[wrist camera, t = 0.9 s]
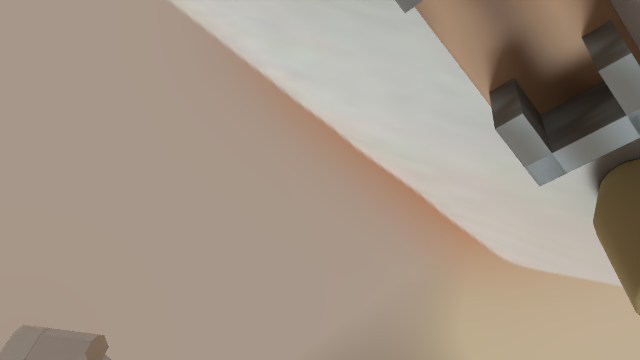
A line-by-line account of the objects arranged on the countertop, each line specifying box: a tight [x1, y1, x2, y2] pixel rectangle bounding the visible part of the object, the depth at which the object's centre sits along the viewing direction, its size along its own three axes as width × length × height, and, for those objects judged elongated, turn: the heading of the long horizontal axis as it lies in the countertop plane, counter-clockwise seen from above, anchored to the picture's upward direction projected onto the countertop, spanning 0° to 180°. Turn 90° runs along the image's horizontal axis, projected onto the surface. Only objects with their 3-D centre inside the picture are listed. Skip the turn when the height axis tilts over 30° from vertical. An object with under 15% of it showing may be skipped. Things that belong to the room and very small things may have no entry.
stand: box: [395, 0, 640, 186], centre depth 37 cm, size 10×22×6 cm, turn 41°
